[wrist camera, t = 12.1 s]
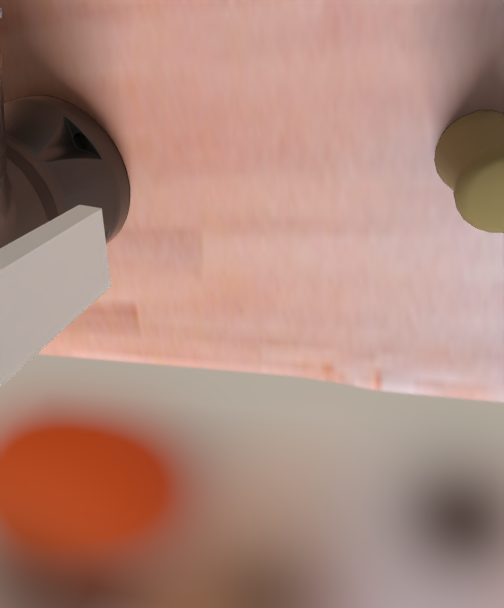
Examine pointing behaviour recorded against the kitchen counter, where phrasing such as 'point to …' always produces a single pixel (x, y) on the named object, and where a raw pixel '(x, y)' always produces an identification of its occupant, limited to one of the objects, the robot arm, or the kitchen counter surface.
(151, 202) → the kitchen counter surface
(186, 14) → the kitchen counter surface
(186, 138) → the kitchen counter surface
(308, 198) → the kitchen counter surface
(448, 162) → the olive pepper mill
